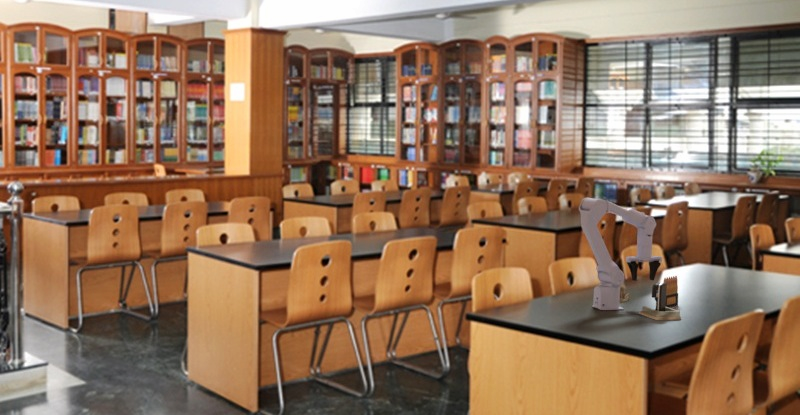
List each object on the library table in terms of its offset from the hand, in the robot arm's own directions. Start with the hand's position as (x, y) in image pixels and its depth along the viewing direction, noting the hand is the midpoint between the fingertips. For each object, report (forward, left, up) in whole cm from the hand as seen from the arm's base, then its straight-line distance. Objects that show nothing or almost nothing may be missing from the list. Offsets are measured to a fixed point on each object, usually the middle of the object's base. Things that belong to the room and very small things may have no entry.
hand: (643, 280), depth 359 cm
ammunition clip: (+11, -2, -11) cm, 15 cm away
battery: (-5, -19, -10) cm, 22 cm away
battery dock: (-4, -20, -10) cm, 23 cm away
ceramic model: (-4, +15, -11) cm, 19 cm away
